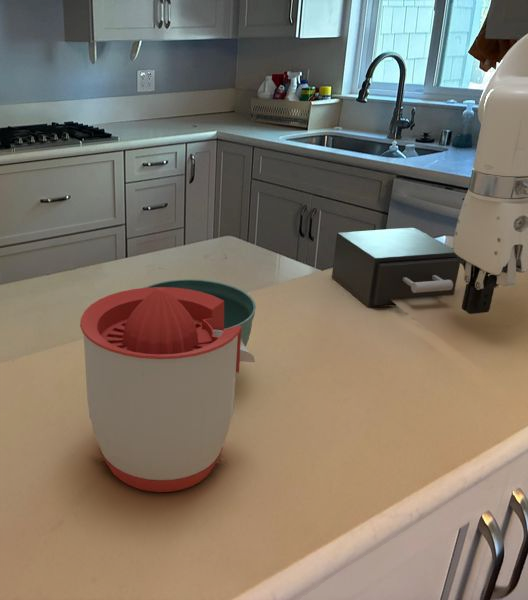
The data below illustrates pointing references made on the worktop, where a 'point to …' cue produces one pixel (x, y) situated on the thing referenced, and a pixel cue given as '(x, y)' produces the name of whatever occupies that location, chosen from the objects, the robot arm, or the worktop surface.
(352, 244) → the grey drawer box
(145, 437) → the citrus juicer
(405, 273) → the mini dresser drawer
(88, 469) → the worktop surface
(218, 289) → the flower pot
